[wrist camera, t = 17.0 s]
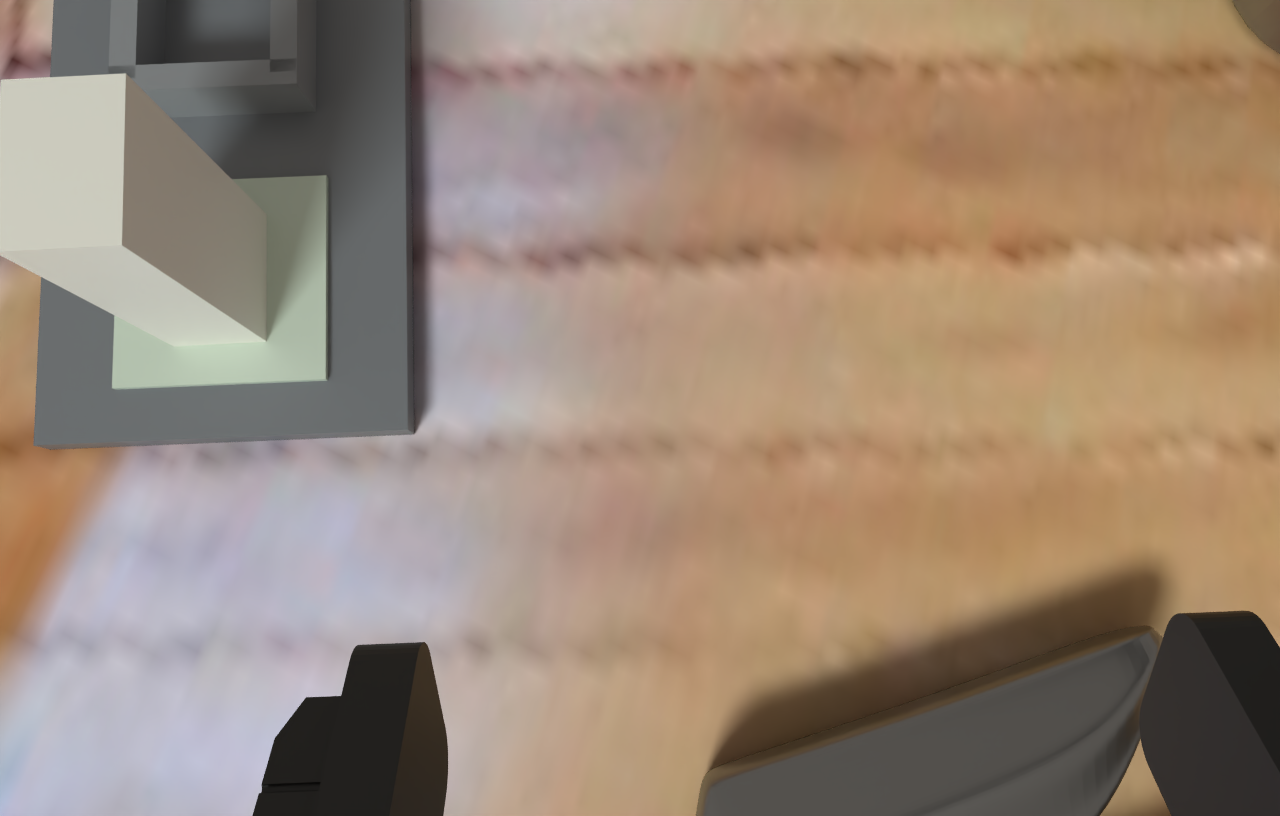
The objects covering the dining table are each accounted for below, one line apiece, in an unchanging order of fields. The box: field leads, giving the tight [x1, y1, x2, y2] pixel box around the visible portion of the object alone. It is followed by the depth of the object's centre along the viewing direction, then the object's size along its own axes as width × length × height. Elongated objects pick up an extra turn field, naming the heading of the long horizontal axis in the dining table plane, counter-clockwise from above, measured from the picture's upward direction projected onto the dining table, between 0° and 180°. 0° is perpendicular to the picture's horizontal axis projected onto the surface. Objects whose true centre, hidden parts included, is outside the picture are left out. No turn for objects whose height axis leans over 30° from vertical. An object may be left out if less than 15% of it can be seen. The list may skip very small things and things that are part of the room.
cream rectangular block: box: [0, 73, 267, 346], centre depth 38 cm, size 4×5×12 cm
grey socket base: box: [34, 0, 414, 450], centre depth 44 cm, size 14×24×5 cm, turn 2°
